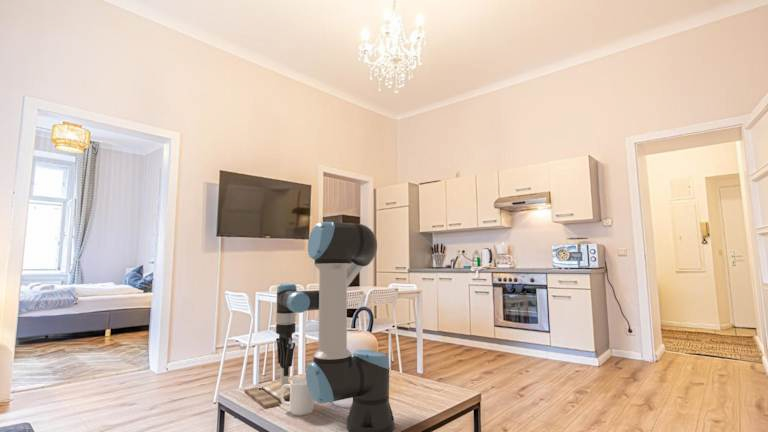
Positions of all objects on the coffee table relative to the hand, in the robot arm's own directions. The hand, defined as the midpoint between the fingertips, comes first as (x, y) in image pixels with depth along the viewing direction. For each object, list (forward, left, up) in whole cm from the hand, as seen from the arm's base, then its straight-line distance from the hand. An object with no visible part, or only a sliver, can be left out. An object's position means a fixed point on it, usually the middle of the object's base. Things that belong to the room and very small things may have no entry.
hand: (284, 383), depth 156 cm
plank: (0, +1, -2) cm, 2 cm away
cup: (-19, +4, -4) cm, 20 cm away
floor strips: (0, +9, -4) cm, 10 cm away
